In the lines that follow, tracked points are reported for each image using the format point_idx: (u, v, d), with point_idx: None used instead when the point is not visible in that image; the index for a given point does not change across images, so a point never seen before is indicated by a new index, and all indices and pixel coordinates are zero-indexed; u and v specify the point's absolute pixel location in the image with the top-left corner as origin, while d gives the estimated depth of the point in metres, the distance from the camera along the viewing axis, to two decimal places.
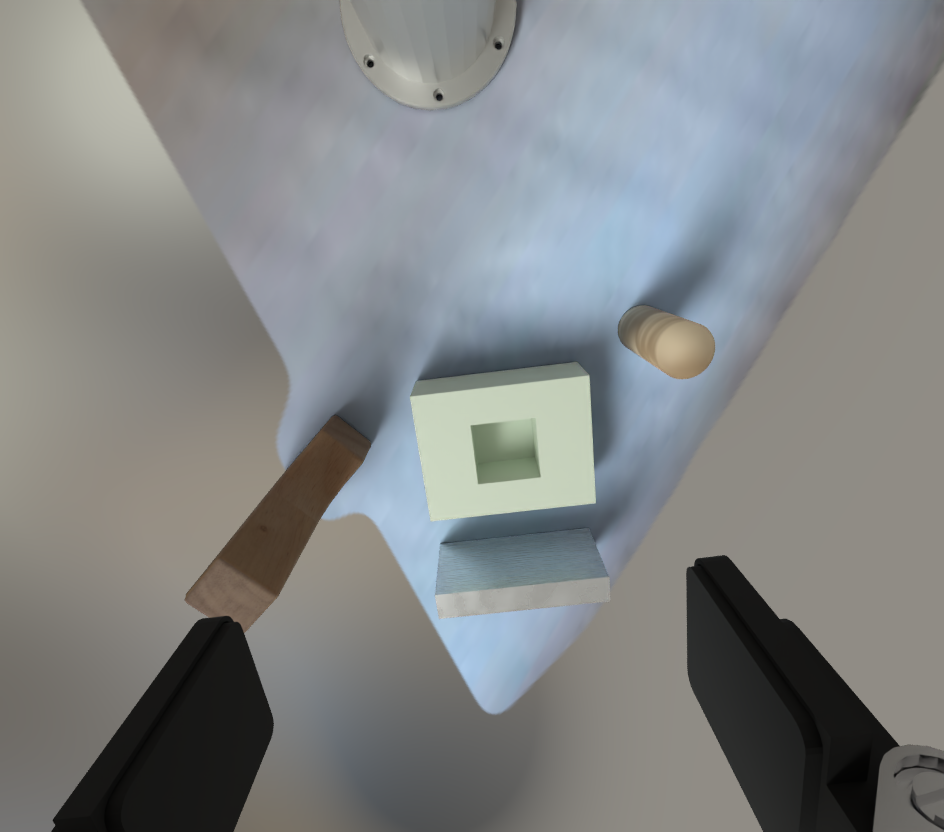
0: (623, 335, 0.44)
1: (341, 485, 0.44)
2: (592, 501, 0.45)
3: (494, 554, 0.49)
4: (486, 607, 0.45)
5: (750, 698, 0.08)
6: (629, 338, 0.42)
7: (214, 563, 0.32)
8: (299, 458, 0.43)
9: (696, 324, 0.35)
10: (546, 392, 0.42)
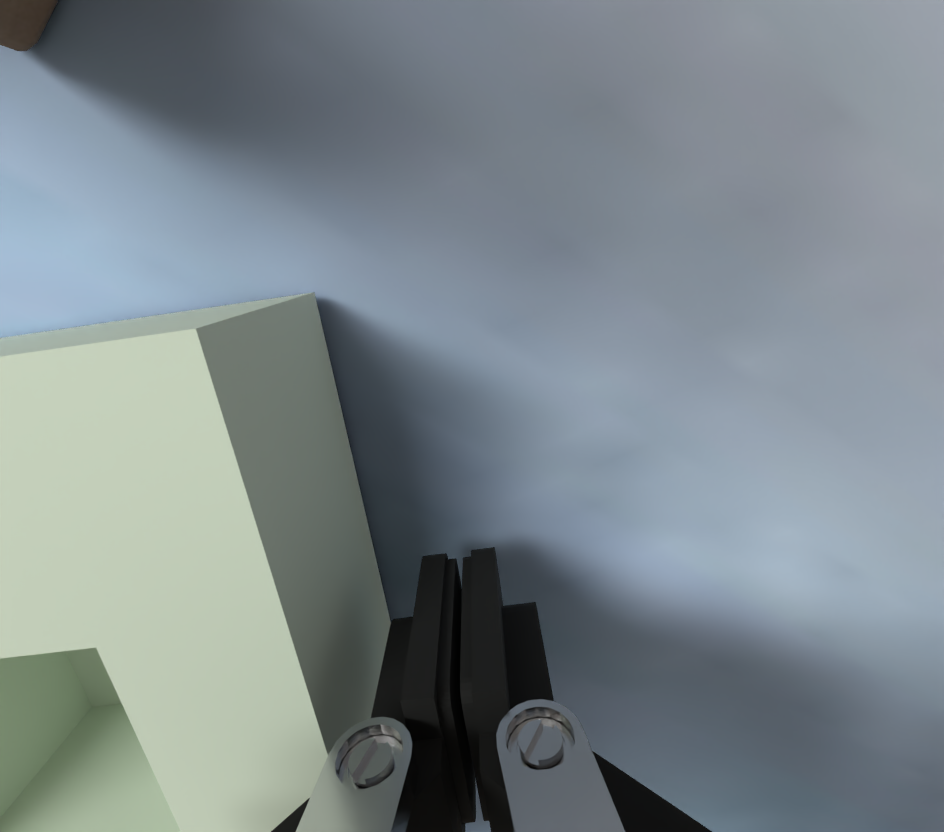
0: None
1: None
2: None
3: None
4: None
5: None
6: None
7: None
8: None
9: None
10: None
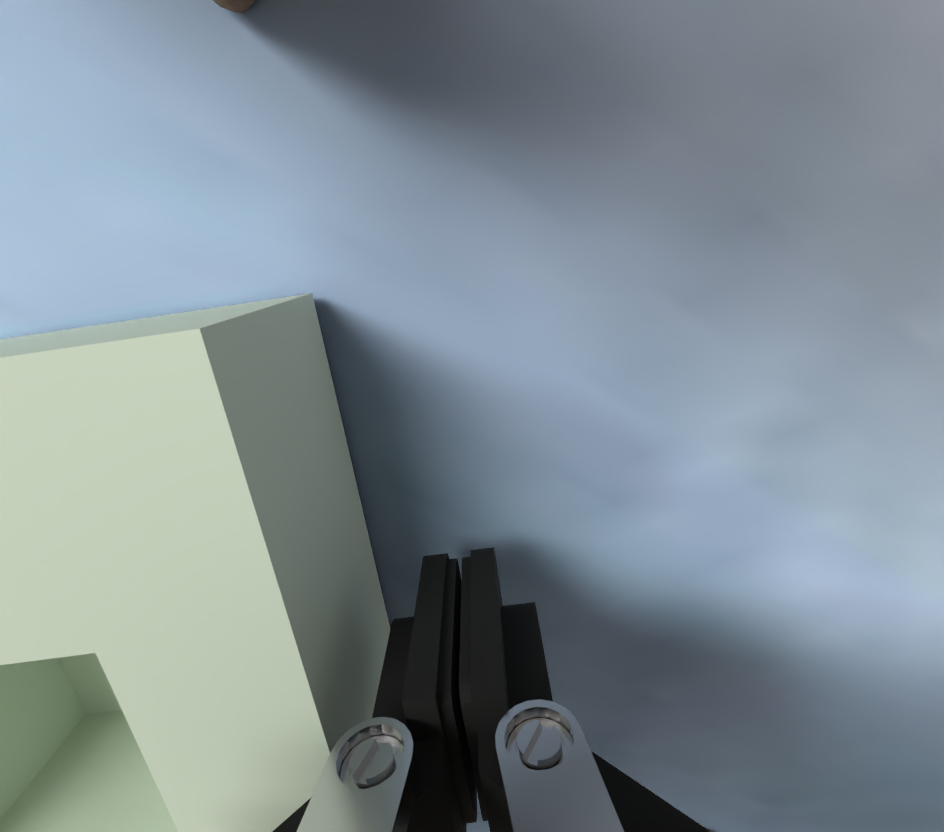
0: None
1: None
2: None
3: None
4: None
5: None
6: None
7: None
8: None
9: None
10: None
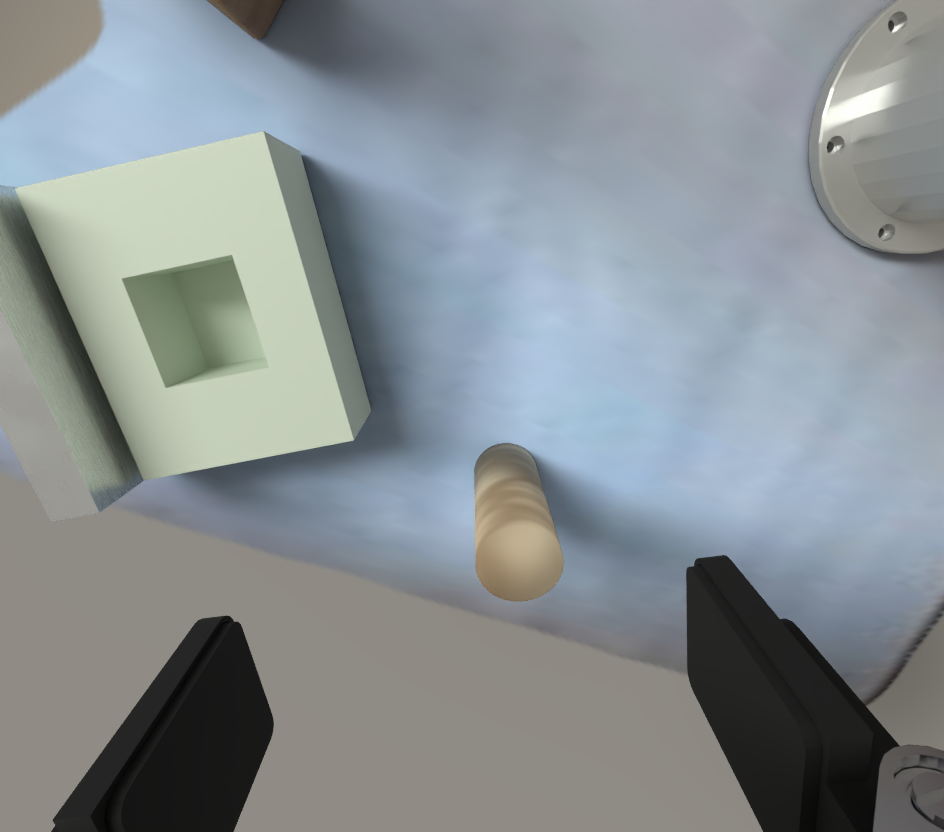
0: (499, 454, 0.31)
1: None
2: (145, 475, 0.27)
3: None
4: None
5: (750, 698, 0.08)
6: (502, 466, 0.29)
7: None
8: None
9: (560, 570, 0.24)
10: (316, 379, 0.26)
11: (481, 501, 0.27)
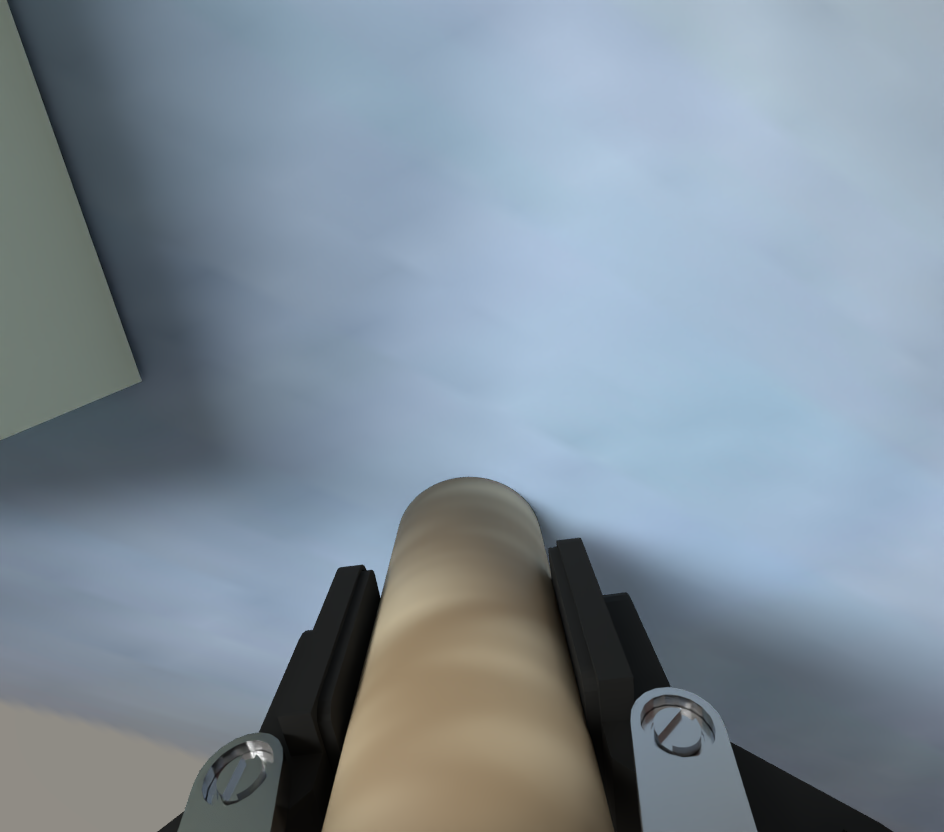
0: (453, 510, 0.12)
1: None
2: None
3: None
4: None
5: (571, 657, 0.09)
6: (453, 551, 0.10)
7: None
8: None
9: None
10: None
11: (368, 683, 0.08)
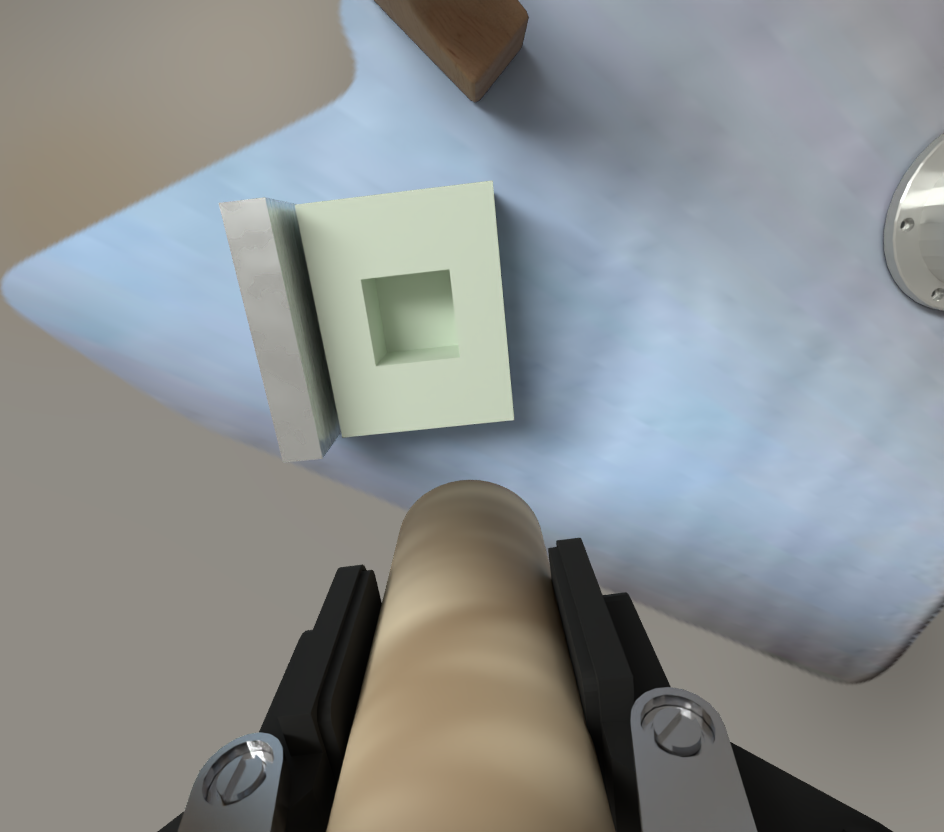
0: (454, 513, 0.12)
1: (437, 39, 0.27)
2: (344, 433, 0.34)
3: None
4: (251, 284, 0.29)
5: (571, 657, 0.09)
6: (455, 554, 0.10)
7: None
8: None
9: None
10: (494, 369, 0.33)
11: (371, 688, 0.08)
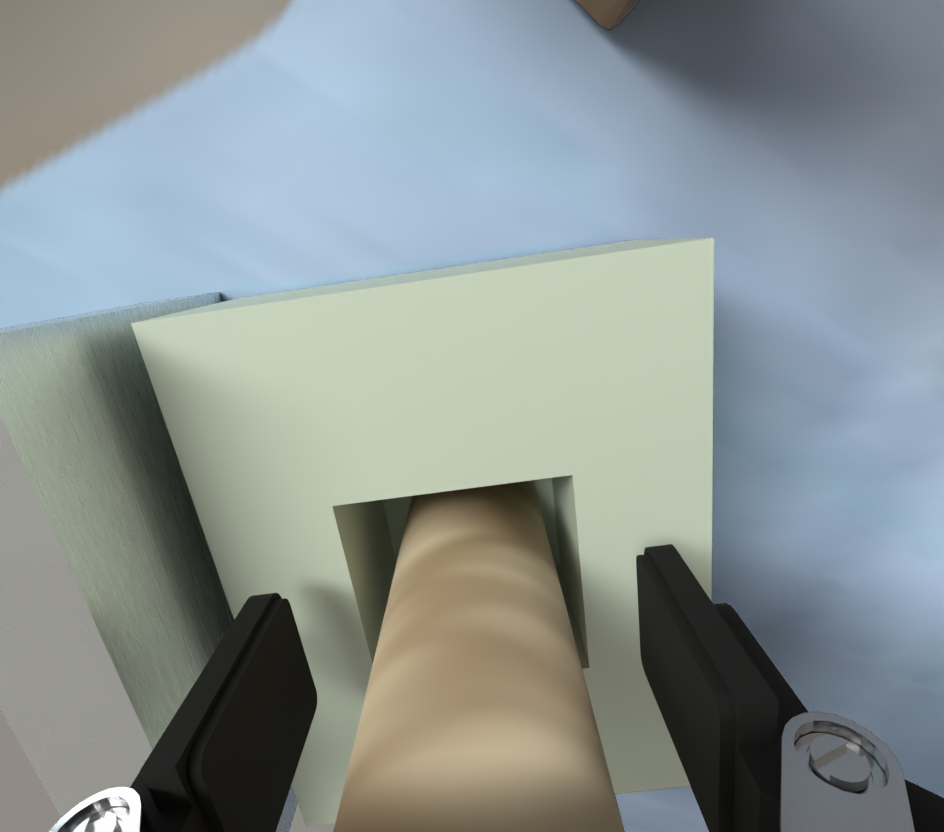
0: None
1: None
2: (310, 818, 0.15)
3: None
4: None
5: (682, 675, 0.08)
6: (462, 500, 0.13)
7: None
8: None
9: None
10: None
11: (397, 594, 0.10)
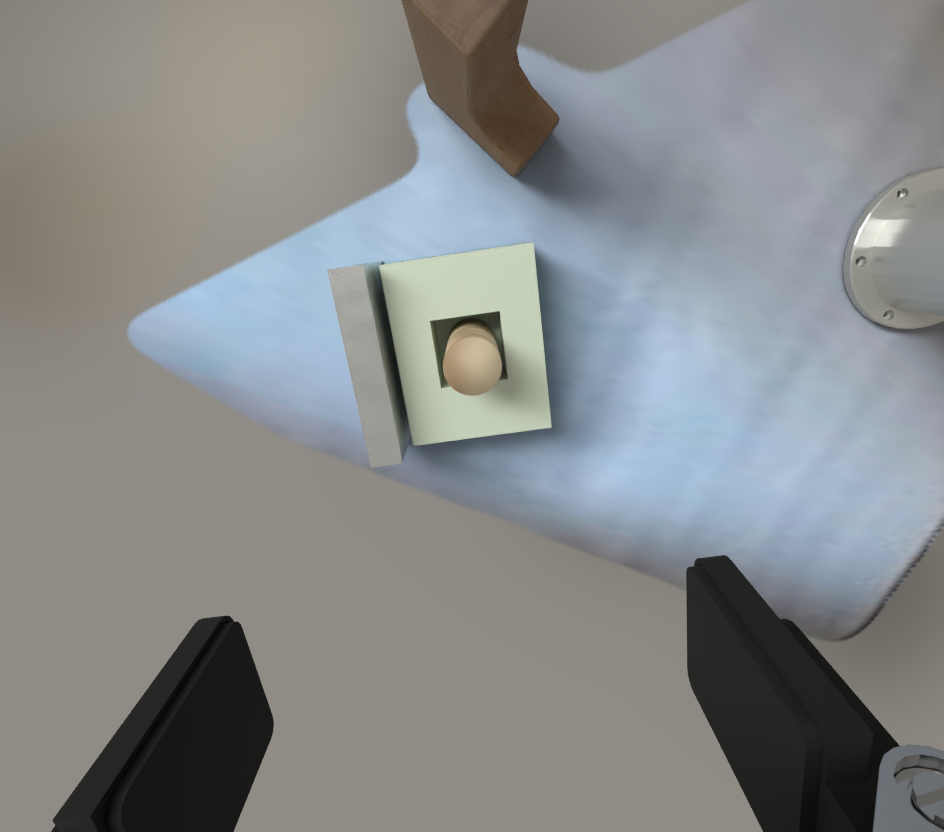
0: (467, 321, 0.42)
1: (490, 139, 0.36)
2: (415, 442, 0.43)
3: (389, 330, 0.42)
4: (350, 329, 0.37)
5: (750, 698, 0.08)
6: (468, 323, 0.40)
7: None
8: (529, 83, 0.35)
9: (499, 373, 0.35)
10: (535, 388, 0.41)
11: (450, 339, 0.38)
